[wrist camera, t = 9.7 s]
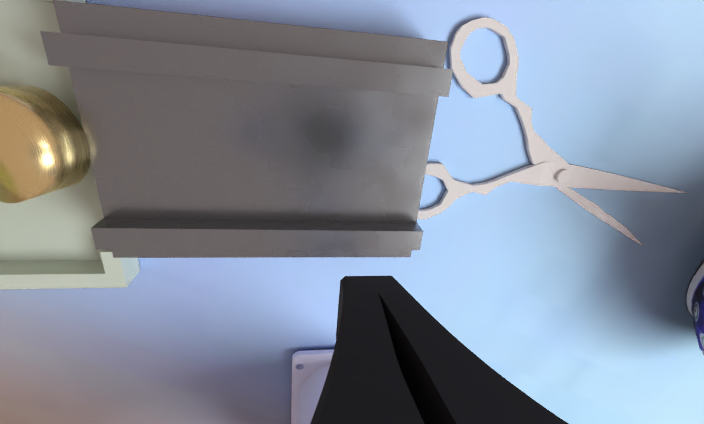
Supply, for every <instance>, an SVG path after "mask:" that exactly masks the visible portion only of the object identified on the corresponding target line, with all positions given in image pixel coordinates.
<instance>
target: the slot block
mask: <svg viewBox="0 0 704 424" xmlns="http://www.w3.org/2000/svg"><path fill="white" fill-rule="evenodd" d="M53 4H54V8H55V12H56V16H57V21H58V25H59V29H60V33H57V32H46V31H40V33H41V37H42V41H43V45H44V49H45V52H46V56H47V60H48V64H49V65H52V66H65V67H69V71H70V76H71V80H72V84H73V88H74V93H75V97H76V101H77V105H78V110H79V114H80V118H81V122H82V127H83V131H84V133H85V136H86V138H87V142H88V145H89V151H90V160H91V165H92V169H93V173H94V177H95V182H96V186H97V190H98V194H99V199H100V203H101V207H102V211H103V216H104V218H103V219H101V220H100V221H99V222H98V223H96V224H95V225H94V226H93V227H91V231H92V235H93V239H94V243H95V247H96V250H112V254H113V258H185V257H410V256H411V250H420V246H421V240H422V235H423V231H422V229H421V228H420V226H419V225H418V224H417V216H418V211H419V205H420V199H421V194H422V188H423V182H424V176H425V171H426V165H427V159H428V154H429V148H430V142H431V137H432V131H433V125H434V120H435V114H436V108H437V103H438V97H439V96H446V97H448V96H449V90H450V85H451V80H452V74H453V69H444V63H445V57H446V51H447V46H448V42H446V41H436V40H427V39H417V38H408V37H399V36H389V35H380V34H370V33H361V32H352V31H342V30H333V29H324V28H314V27H305V26H295V25H286V24H277V23H267V22H258V21H249V20H239V19H230V18H220V17H211V16H202V15H192V14H183V13H173V12H164V11H155V10H145V9H136V8H127V7H117V6H108V5H98V4H89V3H80V2H70V1H61V0H53Z"/></svg>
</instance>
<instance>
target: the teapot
mask: <svg viewBox="0 0 704 424" xmlns="http://www.w3.org/2000/svg"><path fill="white" fill-rule="evenodd" d="M687 306H688V310H689V312H690V313H691V315H692V316H693V322H694V328H695V332H696V336H697V339H698V343H699V347H700V349H701V351H702V353H703V354H704V263H703V264H702V265H701V267H700V268H699V270H698V271H697V273H696V274H695V276H694V277H693V279H692V281H691V283H690V285H689V288H688V292H687Z"/></svg>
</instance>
